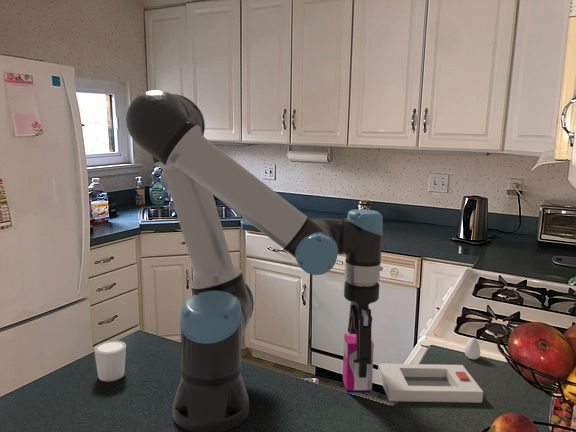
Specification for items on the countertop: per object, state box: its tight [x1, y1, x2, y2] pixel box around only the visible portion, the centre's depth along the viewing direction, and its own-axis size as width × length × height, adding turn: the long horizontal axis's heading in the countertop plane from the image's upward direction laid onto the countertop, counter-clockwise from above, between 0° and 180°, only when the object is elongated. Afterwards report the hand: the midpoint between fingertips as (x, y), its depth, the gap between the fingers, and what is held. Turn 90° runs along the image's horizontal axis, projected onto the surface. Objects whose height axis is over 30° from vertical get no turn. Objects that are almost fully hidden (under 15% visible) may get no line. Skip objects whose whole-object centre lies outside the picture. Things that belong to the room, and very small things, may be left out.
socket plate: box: [377, 363, 484, 404], centre depth 107 cm, size 20×12×3 cm, turn 91°
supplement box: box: [342, 333, 375, 394], centre depth 107 cm, size 6×6×12 cm
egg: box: [463, 337, 481, 360], centre depth 122 cm, size 4×4×6 cm
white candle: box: [93, 340, 127, 382], centre depth 109 cm, size 7×7×7 cm
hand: (357, 377), depth 107 cm, fingers open, 10 cm apart
